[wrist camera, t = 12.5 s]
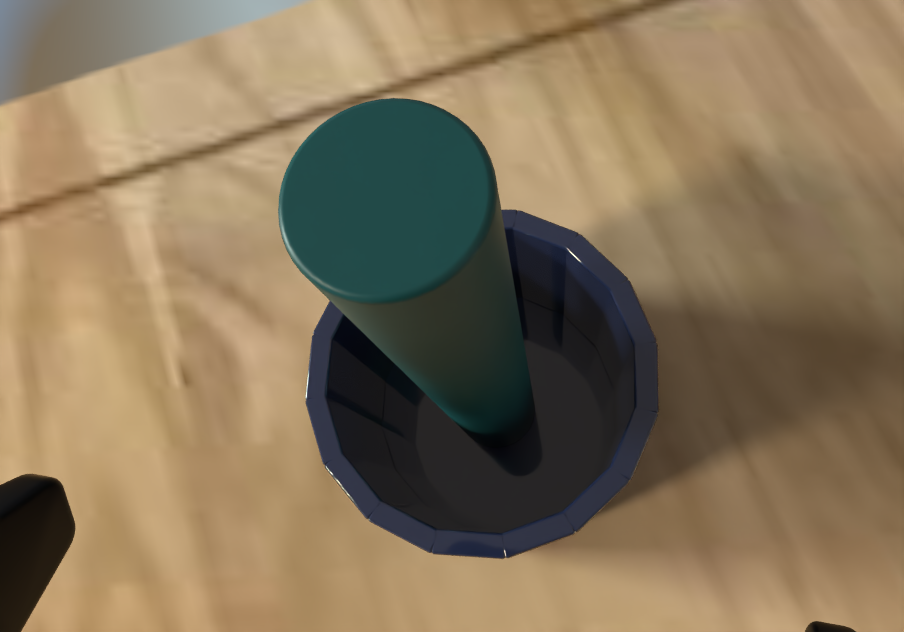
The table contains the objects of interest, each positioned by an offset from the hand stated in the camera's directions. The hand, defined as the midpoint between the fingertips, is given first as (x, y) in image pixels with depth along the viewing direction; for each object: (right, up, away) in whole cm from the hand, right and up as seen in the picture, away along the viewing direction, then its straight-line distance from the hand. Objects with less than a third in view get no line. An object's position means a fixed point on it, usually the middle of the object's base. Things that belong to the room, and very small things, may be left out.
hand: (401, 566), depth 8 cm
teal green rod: (+2, +1, +10) cm, 10 cm away
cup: (+2, 0, +11) cm, 11 cm away
